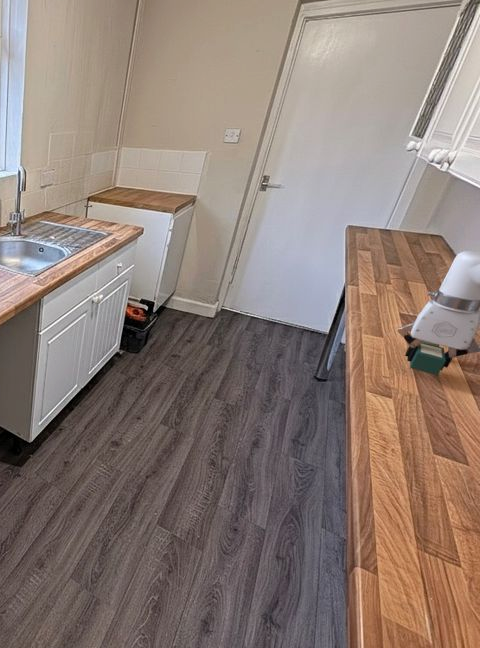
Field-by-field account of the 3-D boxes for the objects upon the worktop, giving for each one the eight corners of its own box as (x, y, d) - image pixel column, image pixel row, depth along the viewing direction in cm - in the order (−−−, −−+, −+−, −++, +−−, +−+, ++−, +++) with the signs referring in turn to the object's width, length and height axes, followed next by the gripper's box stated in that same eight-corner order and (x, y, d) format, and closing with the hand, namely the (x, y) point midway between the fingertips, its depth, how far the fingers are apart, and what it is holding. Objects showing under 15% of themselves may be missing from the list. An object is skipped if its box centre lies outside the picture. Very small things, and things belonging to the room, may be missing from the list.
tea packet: (437, 376, 104) (446, 360, 102) (409, 368, 107) (417, 353, 106) (436, 362, 110) (444, 347, 108) (410, 355, 113) (417, 340, 111)
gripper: (408, 295, 104) (379, 356, 112) (513, 317, 93) (473, 383, 101) (409, 287, 109) (381, 346, 117) (508, 307, 98) (471, 371, 106)
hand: (424, 363), depth 109 cm, fingers closed on tea packet, 5 cm apart
